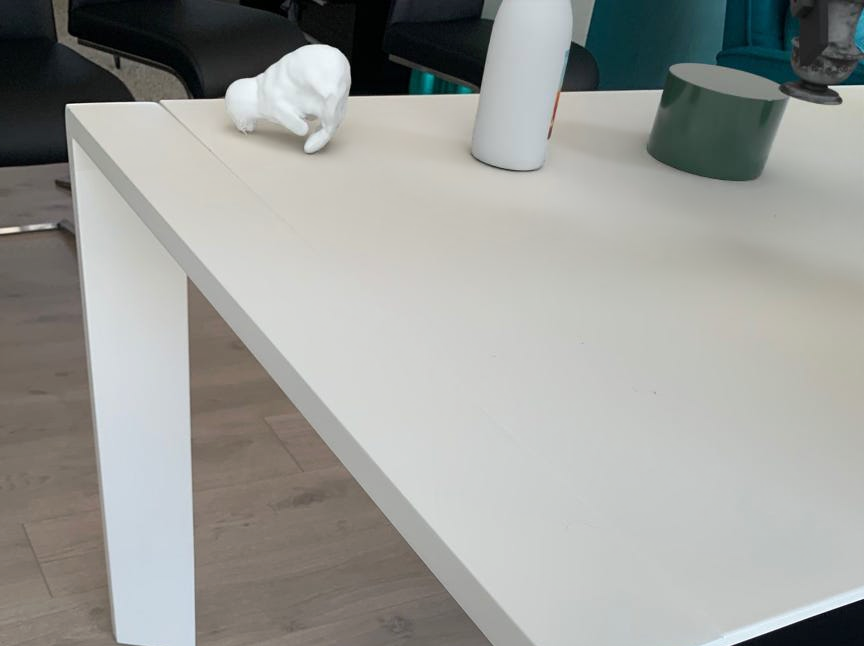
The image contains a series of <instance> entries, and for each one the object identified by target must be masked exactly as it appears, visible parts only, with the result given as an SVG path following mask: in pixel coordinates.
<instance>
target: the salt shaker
mask: <svg viewBox="0 0 864 646" xmlns="http://www.w3.org/2000/svg"><path fill="white" fill-rule="evenodd" d="M863 11H864V0H828V40H829V46H828V47H827V48H826V49H825V50H824V51H823V52H822V53H821V54H820V55H819V56H818V57H817V58H816V59H815V60H814V61H813V62H812V63H811V64H810V65H809V66H808V67H805V66H799V36H795V37H793V38H792V39H791V41H790V42H791V44H792V50H791V53H790V65H791V68H792V70H793V74H795V75H796V76H797V77H798V78H800V79H801V80H789V81H787V82H785V83H782V84H780V86H779V90H780V91H781V92H782V93H784V94H786V95H788V96H790V98H793V99H796V100H798V101H799V100H800V101H803V102H807V103H812V104H816V105H823V106H839V105H842V103H843V102H844V100H843V98H842V97H841V96H840V93H839V92H838V91H837V90H835V89H832V88H830V87H829V86H831V85H839V84H840V83H842V82H843V81H845V80H847V79H848V78H849V76H851V74H852V73H854V71H855V69H856V68H857V66H858V62H859V61H861V60H863V59H864V52H863V51H861V50H860V49H859V48H858V47H857V44H856V42H855V38H856V32H857V27H858V23H859V21H860V19H861V16H862V13H863Z"/></svg>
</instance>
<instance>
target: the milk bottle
mask: <svg viewBox="0 0 864 646" xmlns="http://www.w3.org/2000/svg"><path fill="white" fill-rule="evenodd" d="M573 18H574V17H573V9H572V2H571V0H502V1H501V3H500V6H499V7H498V9H497V13H496V15H495V19H494V21H493V25H492V30H491V34H490V39H489V44H488V46H487V47H488V48H487V53H486V58H485V64H484V69H483V75H482V80H481V86H480V91H479V97H478V102H477V106H476V107H477V108H476V113H475V119H474V123H473V129H472V136H471V141H470V142H471V143H470V151H471V154H472V156H473V157H474V158H475V159H477V160H479V161H481V162H482V163H485V164H488V165H491V166H494V167H497V168H502V169H507V170H514V171H533V170H537V169H539V168H542V166H543V164H544V163H545V162H546V161H545V160H546V157H547V153H548V150H549V145H550V141H551V136H552V131H553V127H554V123H555V119H556V115H557V111H558V106H559V102H560V98H561V97H560V96H561V92H562V88H563V83H564V80H565V79H564V78H565V73H566V68H567V64H568V61H569V60H568V59H569V55H570V50H571V45H572V43H571V42H572V37H573V27H574V26H573V25H574V24H573V23H574V19H573Z"/></svg>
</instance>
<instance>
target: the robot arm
mask: <svg viewBox="0 0 864 646" xmlns="http://www.w3.org/2000/svg"><path fill="white" fill-rule="evenodd" d="M789 2H790V4H789V6H790V7H789V11H790V14H791V17H792V18H796V19H798V37H799V66H805V67H808V66H809V65H810V64H811V63H812V62H813V61H814V60H815V59H816V58H817V57H818V56H819V55H820V54H821V53H822V52H823V51H824V50H825V49H826V48H827V47H828V46H829V40H828V0H789Z"/></svg>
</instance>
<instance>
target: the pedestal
mask: <svg viewBox="0 0 864 646" xmlns="http://www.w3.org/2000/svg"><path fill="white" fill-rule="evenodd" d="M780 85H781V84H780V83H778V82H775V81H774V80H771V79H768V78H766V77H764V76H760V75H757V74H754V73H751V72H747V71H744V70H740V69H735V68H731V67H725V66H720V65H714V64H709V63H708V64H707V63H696V62H681V63H676V64H673V65H671V66H670V67H669V69H668V73H667V75H666V79H665V83H664V86H663V88H662V89H663V90H662V93H661V96H660V100H659V104H658V107H657V111H656V114H655V117H654V121H653V123H652V126H651V127H652V128H651V131H650V134H649V138H648V141H647V145H646V150H647V152H648V153H649V154H650V156H652V157H654V158H655V159H657V160H658V161H659V162H662V163H663V164H666V165H667V166H669V167H673V168H674V169H676V170H677V169H678V170H680V171H682V172H686V173H689V174H693V175H696V176H702V177H706V178H710V179H711V178H712V179H717V180H724V181H725V180H726V181H751V180H755V179H758V178H760V177H761V176H762V174H763V172H764V169H765V166H766V164H767V161H768V158H769V156H770V153H771V150H772V147H773V145H774V142H775V139H776V137H777V135H778V132H779V129H780V126H781V124H782V120H783V118H784V115H785V113H786V109H787V107H788V104H789V101H790V99H791V97H790V96H788V95H786V94H784V93H782V92H781V91H780V90H779V86H780Z"/></svg>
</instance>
